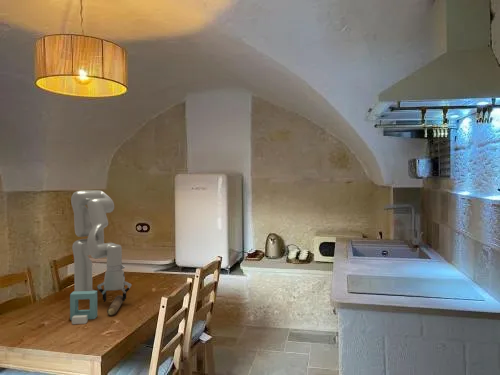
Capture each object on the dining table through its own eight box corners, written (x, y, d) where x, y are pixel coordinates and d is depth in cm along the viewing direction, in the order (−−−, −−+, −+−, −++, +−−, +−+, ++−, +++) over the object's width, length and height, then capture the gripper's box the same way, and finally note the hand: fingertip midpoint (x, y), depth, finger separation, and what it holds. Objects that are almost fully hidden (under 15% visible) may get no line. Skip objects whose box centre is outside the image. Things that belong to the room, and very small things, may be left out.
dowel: (113, 297, 213) (121, 293, 213) (117, 304, 213) (125, 301, 213) (104, 310, 191) (112, 306, 191) (108, 318, 191) (117, 314, 191)
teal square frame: (73, 316, 191) (73, 291, 191) (97, 315, 193) (97, 290, 193) (70, 320, 186) (70, 294, 186) (94, 319, 188) (94, 293, 188)
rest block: (73, 322, 184) (73, 315, 184) (87, 321, 185) (87, 314, 185) (71, 324, 181) (71, 317, 181) (85, 323, 182) (85, 317, 182)
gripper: (132, 266, 215) (132, 298, 216) (98, 267, 213) (99, 299, 213) (130, 269, 208) (130, 302, 208) (95, 270, 206) (95, 303, 206)
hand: (114, 300), depth 211 cm, fingers open, 9 cm apart
